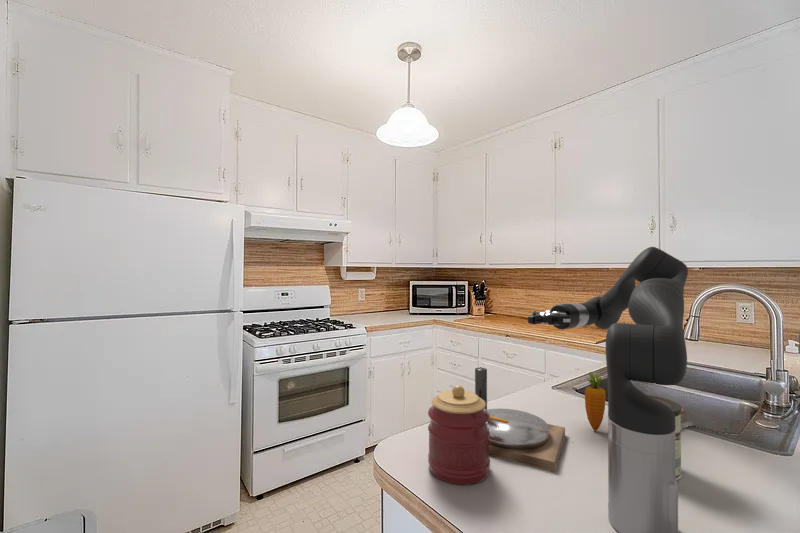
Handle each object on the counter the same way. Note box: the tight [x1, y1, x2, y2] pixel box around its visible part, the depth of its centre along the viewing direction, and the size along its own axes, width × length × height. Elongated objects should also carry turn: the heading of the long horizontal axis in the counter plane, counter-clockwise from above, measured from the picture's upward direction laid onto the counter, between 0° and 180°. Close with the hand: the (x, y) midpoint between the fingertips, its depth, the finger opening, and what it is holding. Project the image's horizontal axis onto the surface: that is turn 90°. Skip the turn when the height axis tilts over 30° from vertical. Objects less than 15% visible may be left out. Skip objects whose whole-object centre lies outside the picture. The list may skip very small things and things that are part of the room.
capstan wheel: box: [474, 367, 549, 449], centre depth 90 cm, size 18×18×14 cm
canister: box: [427, 384, 491, 486], centre depth 78 cm, size 13×13×18 cm
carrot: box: [584, 371, 606, 432], centre depth 95 cm, size 5×5×15 cm
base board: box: [489, 423, 566, 472], centre depth 90 cm, size 23×19×2 cm
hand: (530, 320), depth 103 cm, fingers closed
